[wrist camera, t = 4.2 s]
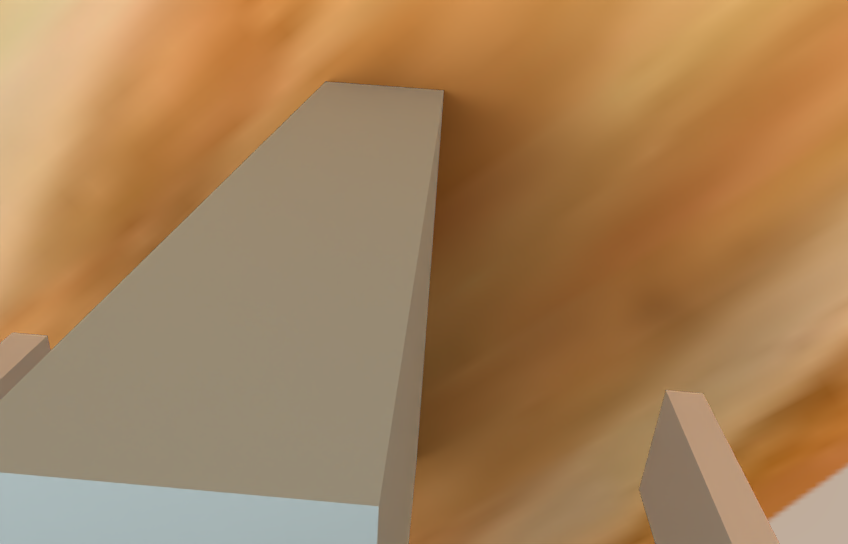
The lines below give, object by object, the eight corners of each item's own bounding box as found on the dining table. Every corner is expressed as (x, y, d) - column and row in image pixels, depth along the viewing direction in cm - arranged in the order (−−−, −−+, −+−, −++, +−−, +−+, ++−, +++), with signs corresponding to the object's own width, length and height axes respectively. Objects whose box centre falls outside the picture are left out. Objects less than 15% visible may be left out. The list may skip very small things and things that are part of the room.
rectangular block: (417, 459, 22) (350, 1126, 10) (326, 451, 22) (146, 1102, 10) (443, 90, 17) (378, 507, 4) (325, 81, 17) (-67, 466, 5)
